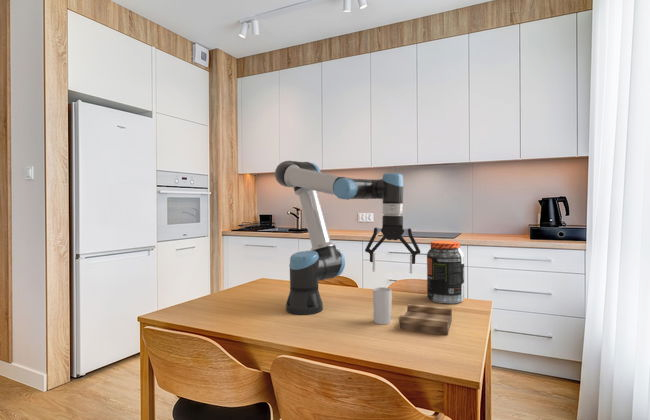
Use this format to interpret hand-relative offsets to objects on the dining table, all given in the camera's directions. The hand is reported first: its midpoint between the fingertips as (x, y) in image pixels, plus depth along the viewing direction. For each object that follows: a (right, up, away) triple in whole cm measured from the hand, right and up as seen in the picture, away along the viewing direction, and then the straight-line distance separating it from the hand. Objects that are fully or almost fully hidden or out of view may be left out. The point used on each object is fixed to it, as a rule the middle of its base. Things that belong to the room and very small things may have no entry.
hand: (392, 271), depth 142 cm
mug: (-3, -18, -1) cm, 18 cm away
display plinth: (+11, -18, -6) cm, 22 cm away
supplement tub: (+28, -17, +27) cm, 42 cm away
